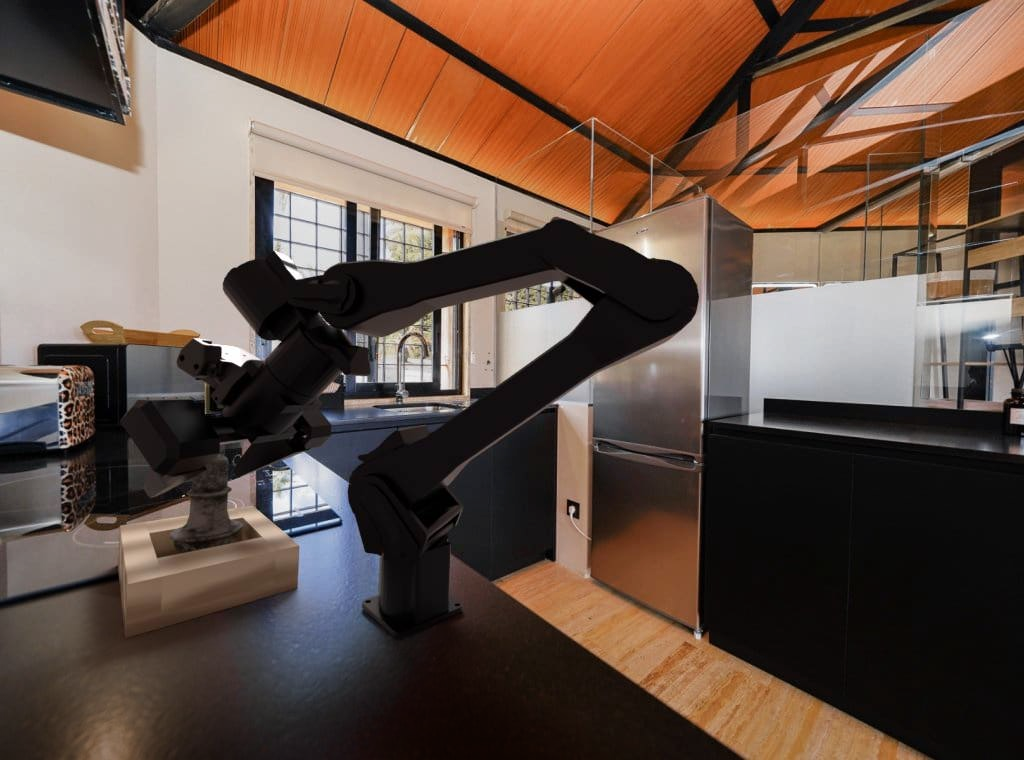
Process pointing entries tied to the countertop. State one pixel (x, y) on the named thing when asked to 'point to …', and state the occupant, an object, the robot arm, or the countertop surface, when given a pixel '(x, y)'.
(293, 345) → the robot arm
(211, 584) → the socket board
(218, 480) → the salt shaker
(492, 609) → the countertop surface
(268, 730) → the countertop surface
